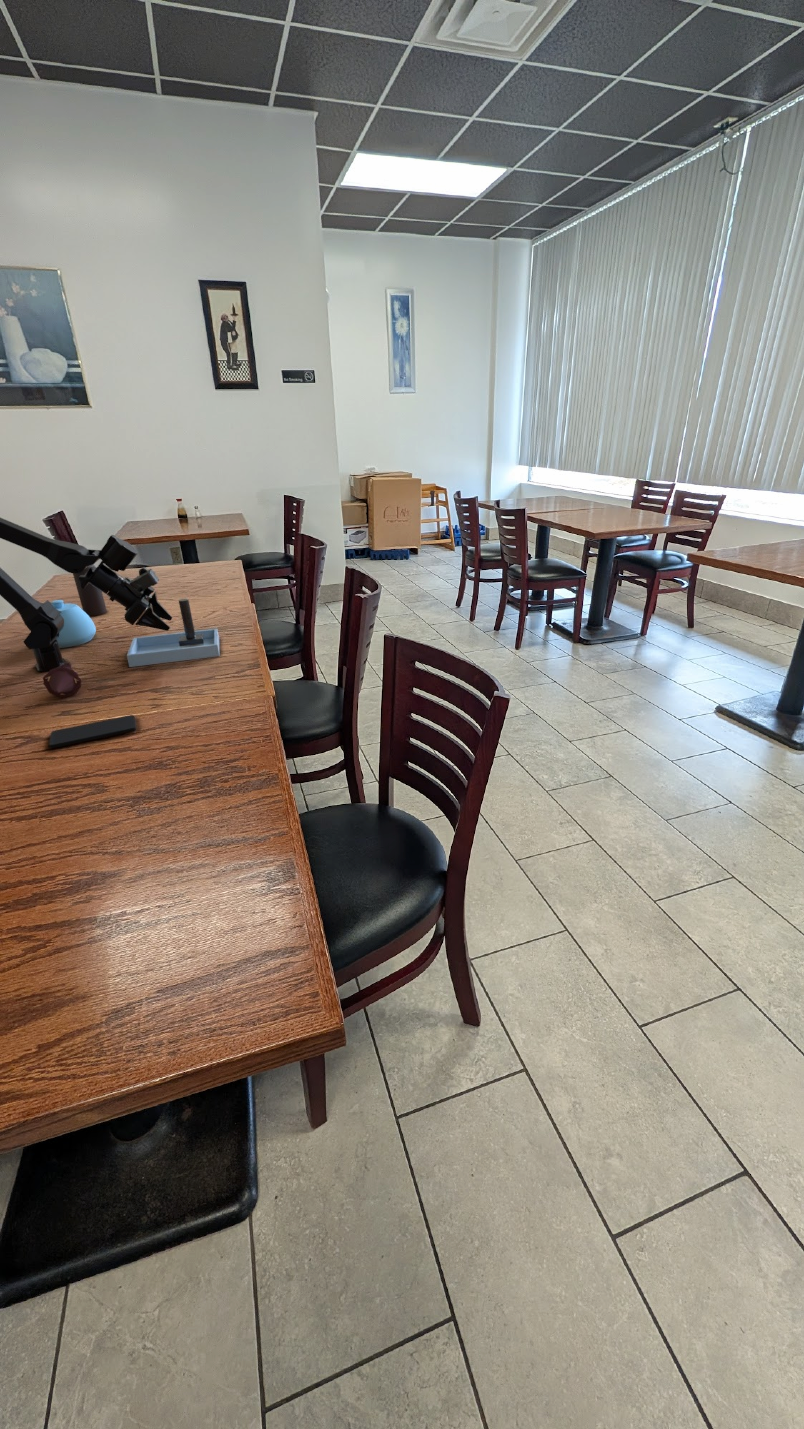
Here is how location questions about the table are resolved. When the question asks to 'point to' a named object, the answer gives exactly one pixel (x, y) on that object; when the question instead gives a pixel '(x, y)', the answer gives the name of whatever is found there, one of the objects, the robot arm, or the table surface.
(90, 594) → the bottle
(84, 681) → the table surface
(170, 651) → the tray
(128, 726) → the smartphone
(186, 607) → the brush
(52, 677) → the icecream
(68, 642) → the sugar bowl
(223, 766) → the table surface
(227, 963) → the table surface
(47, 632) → the robot arm
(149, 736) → the table surface
